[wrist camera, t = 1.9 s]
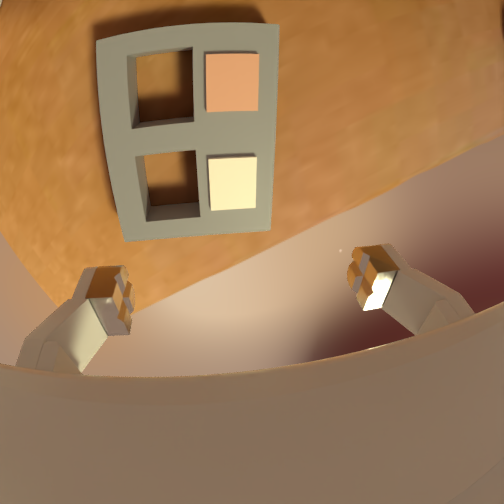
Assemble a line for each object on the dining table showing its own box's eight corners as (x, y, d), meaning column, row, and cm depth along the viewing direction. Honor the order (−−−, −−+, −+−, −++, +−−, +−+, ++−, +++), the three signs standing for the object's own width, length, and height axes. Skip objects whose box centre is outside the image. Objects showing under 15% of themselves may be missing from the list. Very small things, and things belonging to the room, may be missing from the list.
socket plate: (131, 225, 35) (124, 244, 32) (108, 43, 21) (94, 40, 17) (264, 214, 38) (271, 232, 34) (270, 30, 23) (280, 23, 20)
